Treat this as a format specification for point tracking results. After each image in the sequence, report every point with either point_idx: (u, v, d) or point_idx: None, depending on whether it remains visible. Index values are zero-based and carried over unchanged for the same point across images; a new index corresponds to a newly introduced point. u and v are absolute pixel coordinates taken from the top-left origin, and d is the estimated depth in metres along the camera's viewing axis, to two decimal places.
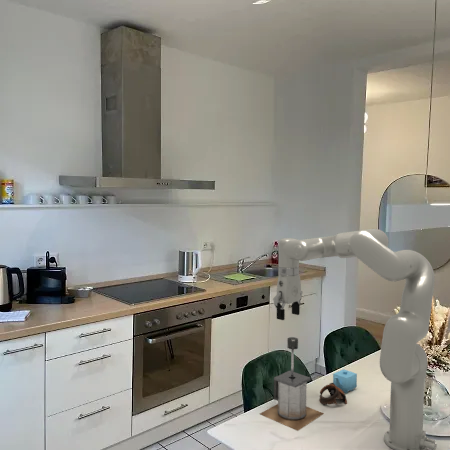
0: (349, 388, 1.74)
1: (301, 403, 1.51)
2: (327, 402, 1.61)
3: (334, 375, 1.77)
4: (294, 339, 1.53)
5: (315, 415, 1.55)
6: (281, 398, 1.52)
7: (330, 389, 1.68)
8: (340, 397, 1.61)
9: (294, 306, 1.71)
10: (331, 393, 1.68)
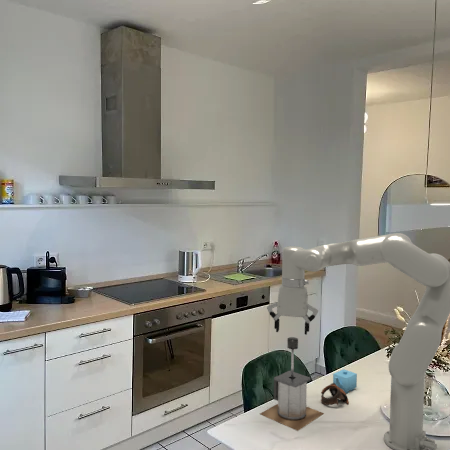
0: (349, 388, 1.74)
1: (301, 403, 1.51)
2: (329, 402, 1.60)
3: (334, 375, 1.77)
4: (294, 339, 1.53)
5: (315, 415, 1.55)
6: (281, 398, 1.52)
7: (331, 389, 1.68)
8: (342, 397, 1.60)
9: (278, 322, 1.54)
10: (333, 393, 1.68)
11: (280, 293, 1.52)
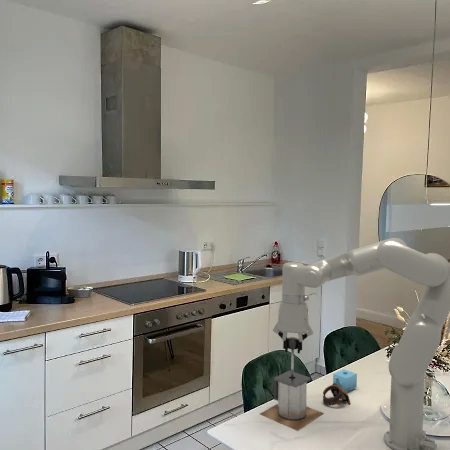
0: (349, 388, 1.74)
1: (301, 403, 1.51)
2: (330, 403, 1.60)
3: (334, 375, 1.77)
4: (294, 339, 1.53)
5: (315, 415, 1.55)
6: (281, 398, 1.52)
7: (333, 390, 1.67)
8: (343, 398, 1.60)
9: (287, 342, 1.54)
10: (334, 394, 1.68)
11: (280, 309, 1.52)
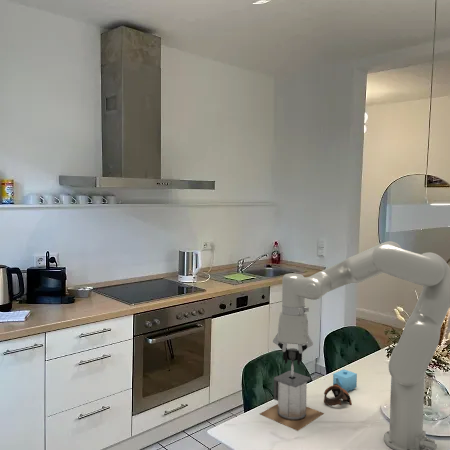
0: (349, 388, 1.74)
1: (301, 403, 1.51)
2: (332, 403, 1.60)
3: (334, 375, 1.77)
4: (294, 350, 1.53)
5: (315, 415, 1.55)
6: (281, 398, 1.52)
7: (334, 390, 1.67)
8: (345, 398, 1.60)
9: None
10: (335, 394, 1.68)
11: (280, 321, 1.52)
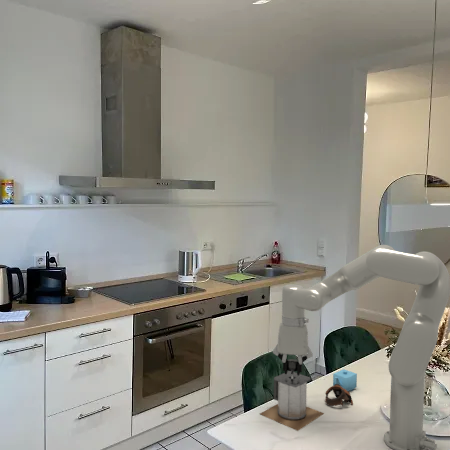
0: (349, 388, 1.74)
1: (301, 403, 1.51)
2: (333, 403, 1.60)
3: (334, 375, 1.77)
4: (294, 361, 1.54)
5: (315, 415, 1.55)
6: (281, 398, 1.52)
7: (335, 390, 1.67)
8: (346, 398, 1.60)
9: None
10: (337, 394, 1.68)
11: (280, 332, 1.52)
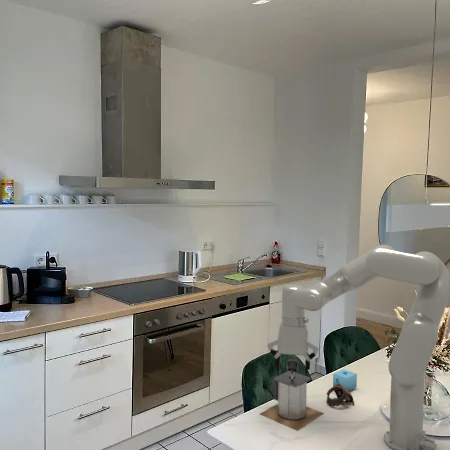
0: (349, 388, 1.74)
1: (301, 403, 1.51)
2: (335, 404, 1.59)
3: (334, 375, 1.77)
4: (294, 361, 1.54)
5: (315, 415, 1.55)
6: (281, 398, 1.52)
7: (337, 390, 1.67)
8: (348, 398, 1.59)
9: (279, 360, 1.55)
10: (338, 394, 1.67)
11: (280, 331, 1.52)
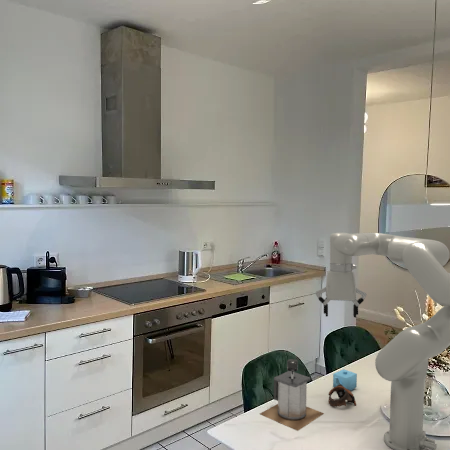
0: (349, 388, 1.74)
1: (301, 403, 1.51)
2: (337, 404, 1.59)
3: (334, 375, 1.77)
4: (294, 361, 1.54)
5: (315, 415, 1.55)
6: (281, 398, 1.52)
7: (338, 391, 1.66)
8: (350, 399, 1.59)
9: (327, 307, 1.59)
10: (339, 395, 1.67)
11: (329, 278, 1.56)
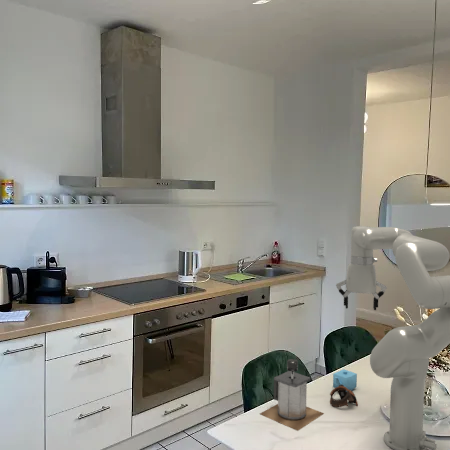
0: (349, 388, 1.74)
1: (301, 403, 1.51)
2: (338, 404, 1.59)
3: (334, 375, 1.77)
4: (294, 361, 1.54)
5: (315, 415, 1.55)
6: (281, 398, 1.52)
7: (340, 391, 1.66)
8: (351, 399, 1.59)
9: (347, 299, 1.61)
10: (341, 395, 1.67)
11: (350, 271, 1.59)
